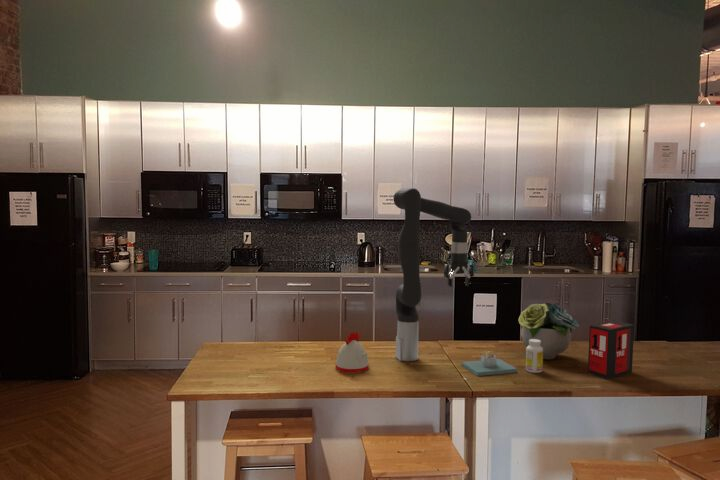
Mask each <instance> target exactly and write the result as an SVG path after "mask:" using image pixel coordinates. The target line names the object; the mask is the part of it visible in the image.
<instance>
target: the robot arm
mask: <svg viewBox="0 0 720 480" xmlns="http://www.w3.org/2000/svg"><path fill="white" fill-rule="evenodd" d="M393 203H394V206H396V208H398V209H401V210H404V224H403V225H402V229H401V232H400V234H399V236H398V242H397V244H398V245H397V247H398V248H397V249H398V252H397V253H398V259H399V262H400V267H401V271H402V275H403V276H402V277H403V283H402V284H400V285H399V286H398V287H397V289H396V292H395V310H396V311H395V312H396V315H397V335H396V336H395V358H396V359H397V360H398V361H400V362H403V361H404V362H414V361H417V360H418V359H419V320H420V319H419V313H418V310H417V308H416V307H417V305H419V303H420V302H421V300H422V288H421V279H420V251H421V249H420V245H421V244H420V221H421V220H420V218H421V213H425V215H430V216H433V217H435V218H439V219H441V220H447V221H448V222H449V225H450V226H449V227H450V230H451V245H450V246H451V247H450V262H451V263H450V264H444V265H443V266H444V268H443V278H447V286H448V287H449V288H451V287H453V277H454V276H455V275H456V274H457V275H458V274H463V275H464V277H465V278H464V279H465V282H464V284H465V286H466V287H469V286H470V284H471V283H470V281H471V280H470V279H471V278H472V277H474V276H475V273H474V272H475V270H474V264H473V263H468V248H469V247H468V231H467V229H464V228H463V225H466V224H467V225H468V224H469V223H470V222H471V220H472V214H471V212H470V211H469V210H468V209H466V208H464V207H463V208H462V207H459V206H453V205H450V204H449V203H446V202H442V201H439V200H434V199H428V198H424V197H422V196H421V193H420V191H419V190H418V189H417V188H415V187H414V188H412V187H408V188H407V187H406V188H400V189H398V190H397V191H395V192H394V194H393ZM467 268H468V270H467ZM450 269H451V270H450ZM449 270H450V271H449Z"/></svg>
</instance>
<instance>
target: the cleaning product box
mask: <svg viewBox="0 0 720 480" xmlns="http://www.w3.org/2000/svg"><path fill="white" fill-rule="evenodd" d="M588 336H589V337H588V338H589V340H588V356H587V357H588V361H587V374H589V373H590V374H589V375H592V374H593V375H592V376H595V377H599V378H602V379H605V380H611V379H614V378H618V377H621V376H625V375H628V374H632V373H633V360H634V359H633V355H634V338H635V324H633V323H632V324H631V323H627V322H623V321H617V320H610V321H606V322H605V321H604V322H600V323H594V324H589V335H588Z"/></svg>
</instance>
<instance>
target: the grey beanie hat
mask: <svg viewBox="0 0 720 480" xmlns="http://www.w3.org/2000/svg"><path fill="white" fill-rule="evenodd" d="M360 336H361V334H360V333H358V331H355V332H353V331H352V332H349V335H348V336H346V337H347V339H344V342H345V343H343V344H342V345H341V347H340V348H339V349H338V350H337V357H336V360H335V370H337V369H338V370H340V371H339V372H341V371H343V372H342V373H346V372H358V373H361V372H360V371H363V372H366V371H368V370H369V368H368V367H369V365H370V364H369V359H368V358H369V357H368V353H367V351H366V349H365V347H364V346H363V345H362V344H361V343H360V342H359V339H360ZM338 370H337V371H338ZM365 370H366V371H365Z"/></svg>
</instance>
